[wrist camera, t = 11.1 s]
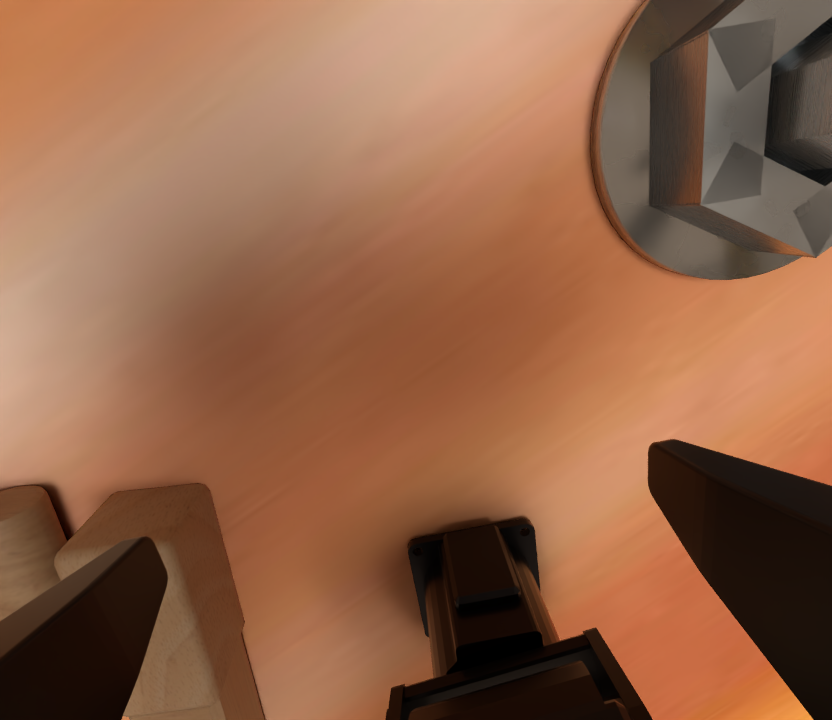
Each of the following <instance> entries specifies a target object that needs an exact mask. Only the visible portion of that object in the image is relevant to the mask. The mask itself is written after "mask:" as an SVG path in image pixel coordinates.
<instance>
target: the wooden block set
mask: <svg viewBox="0 0 832 720" xmlns="http://www.w3.org/2000/svg"><path fill="white" fill-rule="evenodd" d="M140 536H148V537H150V538H152V539H153V541H154V543H155V545H156V547H157V549H158V552H159V554H160V556H161V558H162V561H163V563H164V565H165V567H166V570H167V574H168V583H167V588H166V591H165V594H164V597H163V601H162V604H161V607H160V610H159V614H158V617H157V620H156V623H155V626H154V630H153V633H152V636H151V639H150V642H149V646H148V649H147V652H146V655H145V659H144V662H143V665H142V667H141V670H140V673H139V676H138V679H137V682H136V684H135V687H134V689H133V692H132V695H131V697H130V699H129V702H128V704H127V707H126V709H125V712H124V714H123V716H126V717H129V719H130V720H264V716H263V713H262V709H261V705H260V702H259V698H258V694H257V691H256V687H255V683H254V680H253V676H252V672H251V669H250V665H249V661H248V658H247V654H246V650H245V647H244V643H243V639H242V636H241V632H242V629H243V626H244V622H245V621H244V617H243V614H242V610H241V606H240V602H239V598H238V595H237V591H236V587H235V583H234V580H233V576H232V572H231V568H230V564H229V561H228V557H227V553H226V549H225V546H224V542H223V538H222V534H221V530H220V527H219V523H218V519H217V515H216V512H215V508H214V504H213V500H212V496H211V493H210V490H209V489H208V487H207V486H206V485H203V484H199V483H196V484H186V485H177V486H167V487H158V488H148V489H139V490H129V491H120V492H116V493H114V494H112V495H111V496H110V497H109V498H108V499H107V500H106V501H105V502H104V503H103V504H102V505H101V506H100V508H99V509H98V510H97V511H96V512H95V513H94V514H93V515H92V516H91V517H90V518H89V519H88V520H87V521H86V522H85V523H84V524H83V526H82V527H81V528H80V529H79V530H78V531H77V532H76V533H75V534H74V535H73V536H72V537H71V538H70V539H69V540H68V541H67V540H66V537H65V535H64V532H63V530H62V527H61V525H60V523H59V520H58V518H57V515H56V513H55V510H54V508H53V505H52V503H51V500H50V498H49V496H48V493H47V491H46V490H44V489H43V488H42V487H40V486H35V485H29V486H19V487H14V488H10V489H6V490H3V491H0V621H1V620H2V619H4V618H5V617H7V616H9V615H10V614H12V613H13V612H15V611H16V610H18V609H19V608H21V607H22V606H24V605H25V604H27V603H28V602H30V601H31V600H33V599H34V598H36V597H37V596H39V595H40V594H42V593H43V592H45V591H46V590H48V589H49V588H51V587H52V586H54V585H55V584H57V583H58V582H60V581H61V580H63V579H64V578H66V577H67V576H69V575H70V574H72V573H74V572H75V571H77V570H78V569H80V568H81V567H83V566H84V565H86V564H87V563H89V562H90V561H92V560H93V559H95V558H96V557H98V556H99V555H101V554H102V553H104V552H105V551H107V550H108V549H110V548H111V547H113V546H114V545H116V544H117V543H119V542H120V541H122V540H125V539H129V538H135V537H140Z"/></svg>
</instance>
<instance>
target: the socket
mask: <svg viewBox="0 0 832 720" xmlns="http://www.w3.org/2000/svg"><path fill="white" fill-rule="evenodd" d="M831 32H832V0H645V1H644V3H643V4H642V5H641V6H640V7H639V9H638V10H637V11H636V12H635V14H634V15H633V17H632V18H631V20H630V21H629V23H628V24H627V26H626V27H625V29H624V31H623V32H622V34H621V35H620V37H619V39H618V41H617V43H616V45H615V47H614V49H613V51H612V53H611V55H610V57H609V59H608V62H607V65H606V67H605V70H604V73H603V75H602V78H601V81H600V84H599V88H598V92H597V96H596V100H595V104H594V110H593V117H592V124H591V147H590V150H591V161H592V171H593V176H594V180H595V185H596V189H597V193H598V195H599V198H600V201H601V204H602V206H603V209H604V211H605V213H606V215H607V216H608V218H609V220H610V222H611V224H612V226H613V227H614V228H615V230H616V231H617V232H618V234H619V235H620V236H621V238H622V239H623V240H624V241H625V242H626V243H627V244H628V245H629V246H630V247H631V248H632V249H633V250H634V251H635V252H637V253H638V254H639V255H641V256H642V257H643V258H645V259H646V260H648V261H649V262H651V263H653V264H655V265H657V266H659V267H661V268H663V269H666V270H669V271H672V272H676V273H679V274H684V275H688V276H693V277H699V278H705V279H712V280H732V279H741V278H748V277H752V276H756V275H760V274H764V273H767V272H770V271H772V270H775V269H778V268H780V267H783V266H785V265H787V264H789V263H791V262H793V261H795V260H797V259H799V258H801V257H802V256H804V257H813V258H817V256H819V255H820V254H821V253H823V252H824V251H825V250H827V249H828V248H830V247H831V246H832V168H825V169H814V170H804V171H793V170H791V169H789V168H787V167H785V166H783V165H781V164H779V163H777V162H775V161H773V160H771V159H769V158H767V157H765V156H764V149H765V137H766V126H767V114H768V102H769V91H770V79H771V68H772V64H773V63H774V62H776V61H777V60H778V59H779V58H781V57H782V56H783V55H784V54H786V53H787V52H788V51H789V50H791V49H792V48H794V47H796V46H799V45H801V44H804V43H806V42H809V41H811V40H814V39H816V38H819V37H821V36H824V35H826V34H829V33H831Z"/></svg>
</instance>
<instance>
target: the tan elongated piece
mask: <svg viewBox="0 0 832 720" xmlns="http://www.w3.org/2000/svg"><path fill="white" fill-rule="evenodd" d="M764 156H765V157H767V158H769V159H771V160H773V161H775V162H777V163H779V164H781V165H783V166H785V167H787V168H789V169H791V170H793V171H804V170H814V169H825V168H832V32H831V33H829V34H826V35H824V36H821V37H819V38H816V39H814V40H811V41H809V42H806V43H804V44H801V45H799V46H796V47H794V48H792V49H791V50H789V51H788V52H787V53H786V54H784V55H783V56H782V57H781V58H779V59H778V60H777V61H776V62H774V63H773V64H772V68H771V79H770V91H769V102H768V114H767V126H766V137H765V149H764Z"/></svg>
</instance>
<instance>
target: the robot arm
mask: <svg viewBox="0 0 832 720" xmlns="http://www.w3.org/2000/svg"><path fill="white" fill-rule="evenodd" d="M648 486H649V489H650V492H651V494H652V496H653V498H654V500H655V501H656V503H657V504H658V506H659V508H660V509H661V511H662V512H663V514H664V516H665V517H666V519H667V520H668V522H669V524H670V525H671V527H672V528H673V530H674V532H675V533H676V535H677V536H678V538H679V540H680V541H681V543H682V544H683V546H684V548H685V549H686V551H687V552H688V554H689V556H690V557H691V559H692V560H693V562H694V563H695V565H696V566H697V568H698V569H699V571H700V572H701V574H702V575H703V576H704V578H705V579H706V580H707V582H708V583H709V584H710V586H711V587H712V588H713V590H714V591H715V592H716V594H717V595H718V596H719V597H720V599H721V600H722V601H723V603H724V604H725V605H726V607H727V608H728V609H729V610H730V612H731V613H732V614H733V616H734V617H735V618H736V620H737V621H738V622H739V623H740V625H741V626H742V627H743V629H744V630H745V631H746V632H747V634H748V635H749V636H750V638H751V639H752V640H753V642H754V643H755V644H756V645H757V647H758V648H759V649H760V651H761V652H762V653H763V655H764V656H765V657H766V658H767V660H768V661H769V662H770V664H771V665H772V666H773V668H774V669H775V670H776V671H777V673H778V674H779V675H780V677H781V678H782V679H783V680H784V682H785V683H786V684H787V686H788V687H789V688H790V690H791V691H792V692H793V693H794V695H795V696H796V697H797V699H798V700H799V701H800V703H801V704H802V705H803V706H804V708H805V709H806V710H807V712H808V713H809V714H810V716H811V717H812V718H813V719H814V720H832V486H830V485H827V484H824V483H820V482H817V481H813V480H810V479H807V478H803V477H800V476H797V475H793V474H790V473H787V472H783V471H780V470H777V469H773V468H770V467H766V466H763V465H760V464H756V463H753V462H750V461H746V460H743V459H740V458H736V457H733V456H730V455H726V454H723V453H719V452H716V451H713V450H709V449H706V448H703V447H699V446H696V445H693V444H689V443H686V442H683V441H679V440H675V439H670V440H665V441H660V442H654V443H652V444H651V445H650V447H649V450H648ZM523 528H527V529H526V530H524V531H521V530H522V529H523ZM415 548H421V549H420V550H415ZM408 555H409V559H410V564H411V569H412V573H413V578H414V583H415V588H416V592H417V597H418V602H419V606H420V611H421V616H422V621H423V625H424V630H425V634H426V636H427V637H429V639H430V649H431V658H432V667H433V676H434V678H432V679H429V680H426V681H422V682H419V683H415V684H412V685H409V686H405V684H403V685H399V686H396V687H393V688H391V693H390V701H389V709H387V713H386V720H653V719H652V718H651V716H650V714H649V712H648V711H647V709H646V707H645V705H644V704H643V702H642V701H641V699H640V697H639V696H638V694H637V693H636V691H635V689H634V688H633V686H632V685H631V683H630V681H629V680H628V678H627V676H626V675H625V673H624V672H623V670H622V668H621V667H620V665H619V664H618V662H617V660H616V659H615V657H614V656H613V654H612V652H611V651H610V649H609V648H608V646H607V644H606V643H605V641H604V640H603V638H602V636H601V635H600V633H599V632H598V630H597V628H592V629H589V630H585V631H583V634H581V635H578V636H575V637H571V638H568V639H564V640H561V641H560V640H559V637H558V635H557V632H556V630H555V627H554V625H553V622H552V620H551V618H550V615H549V613H548V610H547V608H546V605H545V603H544V601H543V598H542V596H541V593H540V583H539V572H538V561H537V551H536V540H535V530H534V527H533V525H532V523H531V522H530V521H529V520H527V519H518V520H513V521H508V522H502V523H497V524H491V525H486V526H480V527H475V528H469V529H464V530H459V531H453V532H448V533H442V534H437V535H431V536H426V537H421V538H415V539H413V540H411V541H410V542H409V544H408ZM167 583H168V574H167V570H166V567H165V565H164V563H163V561H162V558H161V556H160V554H159V552H158V549H157V547H156V545H155V543H154V541H153V539H152V538H150V537H148V536H140V537H135V538H129V539H125V540H122V541H120V542H119V543H117V544H116V545H114V546H113V547H111V548H110V549H108V550H107V551H105V552H104V553H102V554H101V555H99V556H98V557H96V558H95V559H93V560H92V561H90V562H89V563H87V564H86V565H84V566H83V567H81V568H80V569H78V570H77V571H75V572H74V573H72V574H70V575H69V576H67V577H66V578H64V579H63V580H61V581H60V582H58V583H57V584H55V585H54V586H52V587H51V588H49V589H48V590H46V591H45V592H43V593H42V594H40V595H39V596H37V597H36V598H34V599H33V600H31V601H30V602H28V603H27V604H25V605H24V606H22V607H21V608H19V609H18V610H16V611H15V612H13V613H12V614H10V615H9V616H7V617H5V618H4V619H2V620H1V621H0V720H121V719H122V716H123V714H124V712H125V709H126V707H127V704H128V702H129V699H130V697H131V695H132V692H133V689H134V687H135V684H136V682H137V679H138V676H139V673H140V670H141V667H142V665H143V662H144V659H145V655H146V652H147V649H148V646H149V642H150V639H151V636H152V633H153V630H154V626H155V623H156V620H157V617H158V614H159V610H160V607H161V604H162V601H163V597H164V594H165V591H166V588H167Z"/></svg>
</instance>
